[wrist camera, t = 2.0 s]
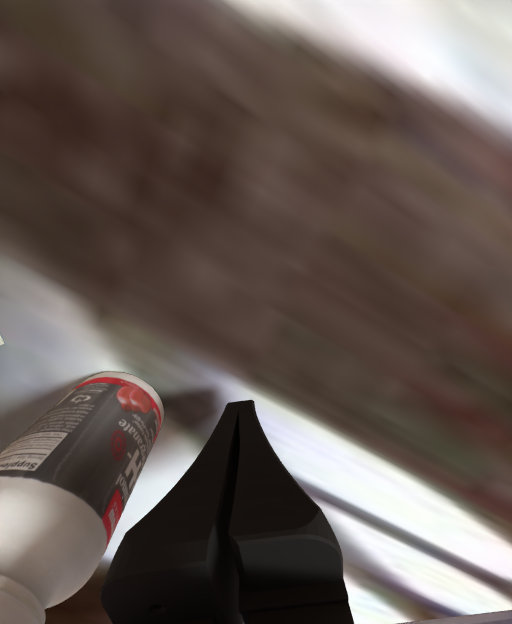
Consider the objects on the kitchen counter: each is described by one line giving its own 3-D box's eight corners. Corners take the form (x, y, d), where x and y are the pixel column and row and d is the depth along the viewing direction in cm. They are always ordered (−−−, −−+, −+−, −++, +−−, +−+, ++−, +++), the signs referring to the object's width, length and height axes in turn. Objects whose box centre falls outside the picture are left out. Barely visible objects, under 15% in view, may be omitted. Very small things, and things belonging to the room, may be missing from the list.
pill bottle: (181, 426, 15) (76, 728, 6) (105, 451, 16) (-104, 769, 6) (140, 355, 14) (-93, 614, 4) (57, 385, 14) (-321, 681, 5)
